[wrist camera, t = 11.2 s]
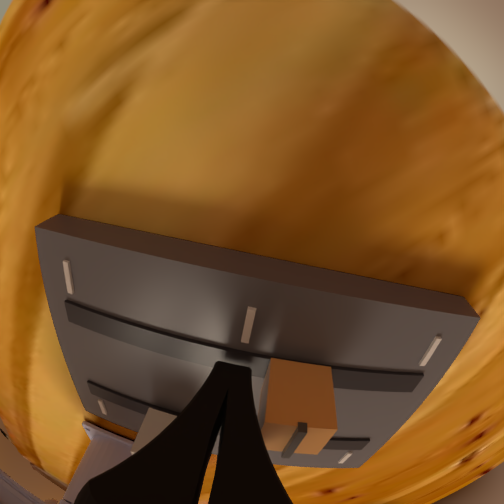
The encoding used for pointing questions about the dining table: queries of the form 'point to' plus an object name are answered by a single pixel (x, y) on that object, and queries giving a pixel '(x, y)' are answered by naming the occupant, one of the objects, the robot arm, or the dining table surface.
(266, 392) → the fader orange
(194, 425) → the robot arm
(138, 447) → the fader ivory
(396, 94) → the dining table surface
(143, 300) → the fader panel
